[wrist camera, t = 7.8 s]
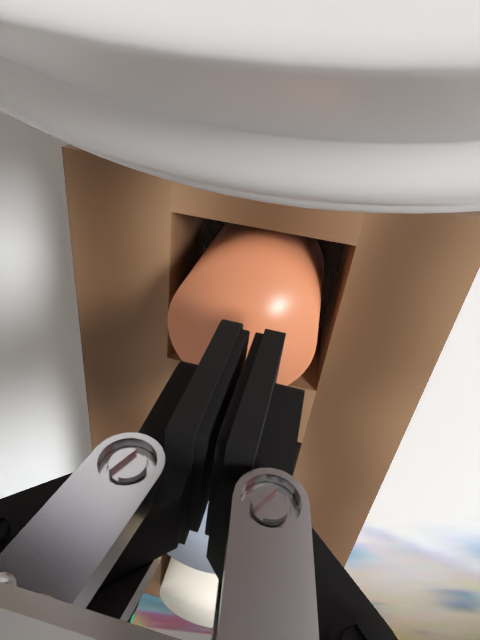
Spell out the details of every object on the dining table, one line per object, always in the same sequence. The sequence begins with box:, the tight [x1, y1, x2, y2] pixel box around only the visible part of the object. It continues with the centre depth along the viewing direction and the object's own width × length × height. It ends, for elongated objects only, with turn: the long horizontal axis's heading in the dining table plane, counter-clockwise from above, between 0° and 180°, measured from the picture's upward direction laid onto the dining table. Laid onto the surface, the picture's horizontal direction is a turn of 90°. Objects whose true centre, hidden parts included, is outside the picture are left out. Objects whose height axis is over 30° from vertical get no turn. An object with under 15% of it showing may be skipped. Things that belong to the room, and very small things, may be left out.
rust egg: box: [167, 222, 324, 386], centre depth 15 cm, size 4×4×5 cm
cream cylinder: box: [160, 557, 218, 628], centre depth 23 cm, size 4×4×5 cm
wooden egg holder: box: [62, 145, 480, 598], centre depth 20 cm, size 12×24×4 cm, turn 173°
